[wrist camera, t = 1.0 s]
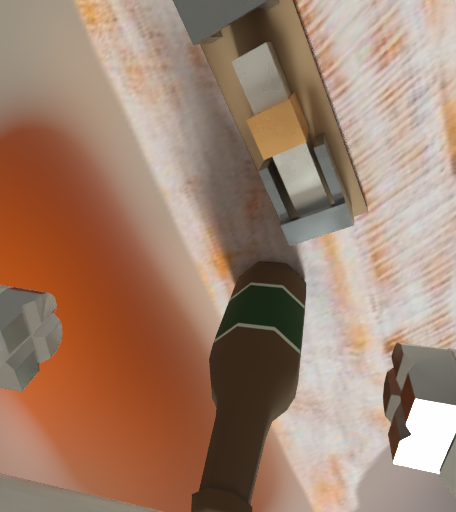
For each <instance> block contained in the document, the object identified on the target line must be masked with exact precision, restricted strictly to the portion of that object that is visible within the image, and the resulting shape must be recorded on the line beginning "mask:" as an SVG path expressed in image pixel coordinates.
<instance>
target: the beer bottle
mask: <svg viewBox="0 0 456 512" xmlns="http://www.w3.org/2000/svg"><path fill="white" fill-rule="evenodd" d="M305 300H306V282H305V281H304V280H303V279H301V278H300V277H299V276H298V275H297V274H296V273H295V272H294V271H293V270H292V269H291V268H290V267H289V266H288V265H287V264H283V263H270V262H258V263H257V264H255V265H254V266H253V267H252V268H250V269H249V270H248V271H247V272H245V273H244V274H243V275H242V276H240V277H239V279H238V281H237V283H236V285H235V288H234V290H233V293H232V295H231V298H230V301H229V303H228V306H227V309H226V311H225V314H224V316H223V319H222V322H221V324H220V327H219V330H218V332H217V335H216V338H215V340H214V343H213V346H212V350H211V354H210V358H209V363H210V375H211V376H210V377H211V389H212V399H213V401H214V403H215V405H216V408H217V410H216V418H215V422H214V427H213V431H212V436H211V440H210V444H209V449H208V453H207V458H206V462H205V467H204V471H203V475H202V480H201V484H200V489H199V492H196V493H194V494H192V509H191V511H192V512H252V507H251V505H250V503H251V499H252V494H253V490H254V485H255V482H256V477H257V473H258V469H259V464H260V460H261V456H262V452H263V447H264V443H265V439H266V436H267V433H268V431H269V428H270V426H271V423H272V421H273V420H275V419H276V418H277V417H279V416H280V415H281V414H282V413H284V412H285V411H286V410H287V409H288V407H289V406H290V404H291V403H292V401H293V399H294V398H295V395H296V390H297V385H298V378H299V368H300V357H301V347H302V336H303V326H304V315H305Z"/></svg>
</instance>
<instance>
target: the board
mask: <svg viewBox="0 0 456 512" xmlns="http://www.w3.org/2000/svg"><path fill="white" fill-rule="evenodd" d="M278 1H279V4H278V5H276V6H274V7H273V8H271V9H269V10H268V11H266V10H264V9H261V8H257V9H255V10H253V11H252V12H250V13H248V14H247V15H245V16H243V17H242V18H240V19H238V20H237V21H235V22H233V23H232V24H230V25H228V26H227V27H225V28H223V29H222V30H220V32H221V34H222V36H223V37H222V38H220V39H218V40H217V41H215V42H213V43H211V44H200V45H201V47H202V50H203V52H204V54H205V56H206V58H207V61H208V63H209V65H210V67H211V69H212V72H213V74H214V76H215V78H216V80H217V83H218V85H219V87H220V89H221V91H222V94H223V96H224V98H225V100H226V102H227V105H228V107H229V109H230V111H231V113H232V116H233V118H234V120H235V122H236V124H237V127H238V129H239V131H240V133H241V135H242V138H243V140H244V142H245V144H246V146H247V149H248V151H249V153H250V155H251V157H252V160H253V162H254V164H255V166H256V168H257V171H259V169H260V167H261V165H262V163H263V161H264V159H263V157H262V155H261V153H260V150H259V148H258V146H257V144H256V141H255V139H254V137H253V135H252V132H251V130H250V128H249V126H248V123H247V121H246V120H247V119H248V118H249V117H250V116H251V115H252V114H253V111H252V109H251V106H250V104H249V102H248V99H247V97H246V95H245V92H244V90H243V88H242V85H241V83H240V81H239V79H238V76H237V74H236V72H235V69H234V67H233V65H232V61H234V60H235V59H237V58H239V57H241V56H243V55H244V54H246V53H248V52H250V51H252V50H253V49H255V48H257V47H259V46H260V45H262V44H264V43H266V42H272V45H273V47H274V50H275V52H276V55H277V58H278V60H279V63H280V65H281V68H282V70H283V73H284V75H285V78H286V81H287V83H288V86H289V88H290V91H291V93H292V92H294V91H295V93H296V96H297V98H298V101H299V103H300V106H301V108H302V111H303V114H304V116H305V119H306V121H307V124H308V127H309V133H308V137H309V140H310V142H311V145H312V147H313V150H314V142H315V136H318V135H320V134H322V133H324V132H325V135H326V138H327V140H328V143H329V146H330V148H331V151H332V154H333V156H334V159H335V162H336V164H337V167H338V170H339V172H340V175H341V178H342V180H343V183H344V186H345V188H346V191H347V194H348V196H349V199H350V202H351V205H352V209H353V217H354V216H357V215H361V214H364V213H367V212H368V209H367V205H366V203H365V200H364V197H363V194H362V191H361V189H360V186H359V183H358V180H357V177H356V175H355V172H354V169H353V166H352V164H351V161H350V158H349V155H348V152H347V150H346V147H345V144H344V141H343V138H342V136H341V133H340V130H339V127H338V124H337V122H336V119H335V116H334V113H333V110H332V108H331V105H330V102H329V99H328V96H327V94H326V91H325V88H324V85H323V83H322V80H321V77H320V74H319V71H318V69H317V66H316V63H315V60H314V57H313V55H312V52H311V49H310V46H309V43H308V41H307V38H306V35H305V32H304V29H303V27H302V24H301V21H300V18H299V15H298V13H297V10H296V7H295V4H294V2H293V0H278ZM314 152H315V151H314ZM315 155H316V154H315ZM316 157H317V156H316ZM317 160H318V159H317ZM318 163H319V161H318ZM319 165H320V164H319ZM320 168H321V166H320ZM321 170H322V169H321ZM322 173H323V171H322ZM323 175H324V174H323ZM324 178H325V177H324ZM325 180H326V179H325ZM262 182H263V181H262ZM326 183H327V182H326ZM327 186H328V184H327ZM328 188H329V187H328ZM329 191H330V189H329ZM267 193H268V192H267ZM330 193H331V192H330ZM331 196H332V195H331ZM332 198H333V197H332ZM333 201H334V200H333ZM334 203H335V202H334ZM272 204H273V203H272Z"/></svg>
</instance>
